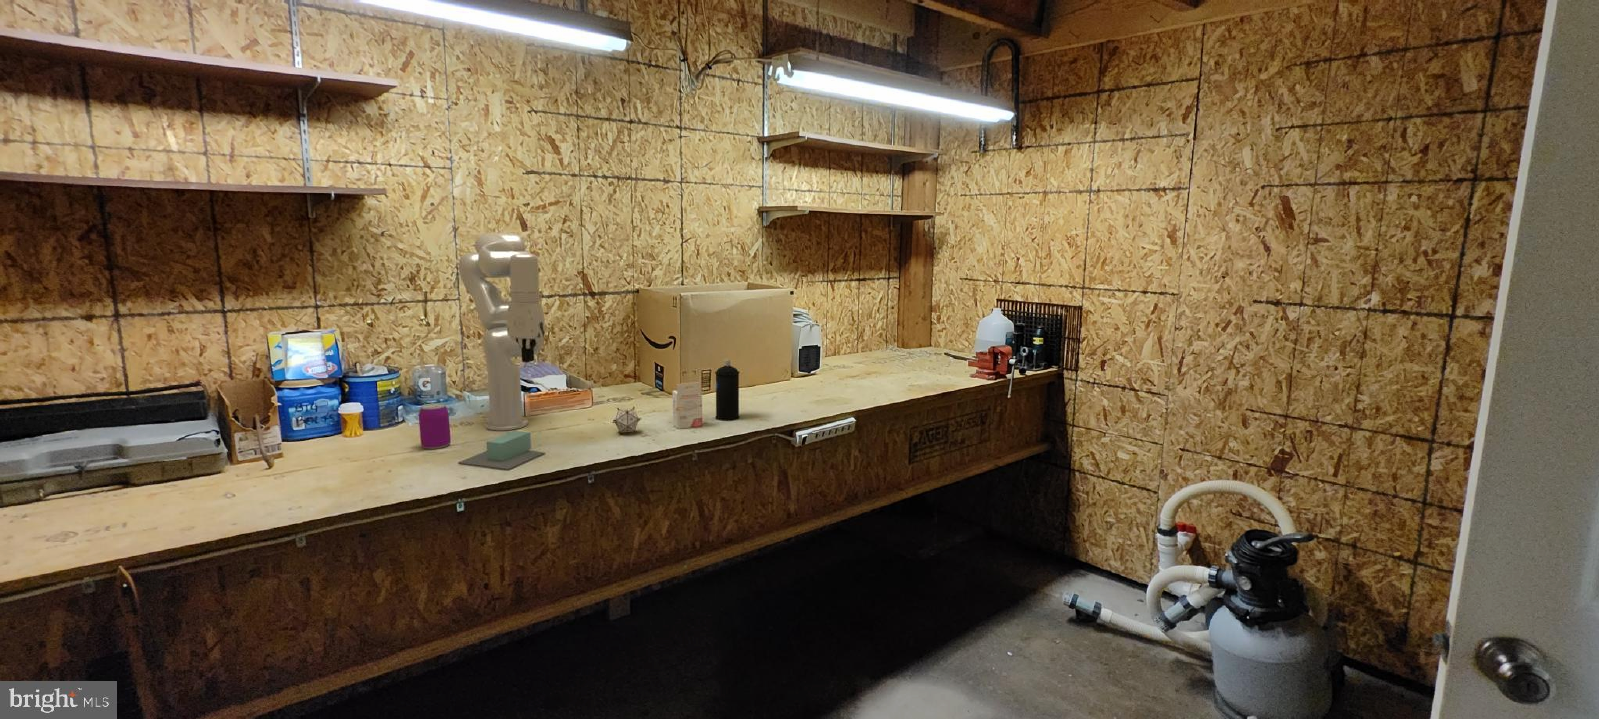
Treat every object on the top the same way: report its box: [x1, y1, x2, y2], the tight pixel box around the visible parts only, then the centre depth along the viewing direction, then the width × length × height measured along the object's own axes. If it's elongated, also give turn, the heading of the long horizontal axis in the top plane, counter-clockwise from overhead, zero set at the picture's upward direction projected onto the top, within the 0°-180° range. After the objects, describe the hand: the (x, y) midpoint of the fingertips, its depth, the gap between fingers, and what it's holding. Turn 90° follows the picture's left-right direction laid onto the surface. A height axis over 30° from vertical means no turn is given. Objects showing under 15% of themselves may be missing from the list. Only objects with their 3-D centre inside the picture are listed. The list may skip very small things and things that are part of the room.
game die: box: [612, 406, 642, 435], centre depth 221 cm, size 9×8×10 cm
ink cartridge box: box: [672, 381, 704, 430], centre depth 230 cm, size 9×5×15 cm, turn 118°
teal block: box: [485, 429, 533, 461], centre depth 197 cm, size 5×5×12 cm
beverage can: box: [418, 402, 451, 450], centre depth 205 cm, size 8×8×12 cm
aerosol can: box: [714, 359, 740, 422], centre depth 240 cm, size 8×8×20 cm
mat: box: [457, 450, 546, 471], centre depth 195 cm, size 16×15×1 cm
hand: (528, 361), depth 205 cm, fingers closed
